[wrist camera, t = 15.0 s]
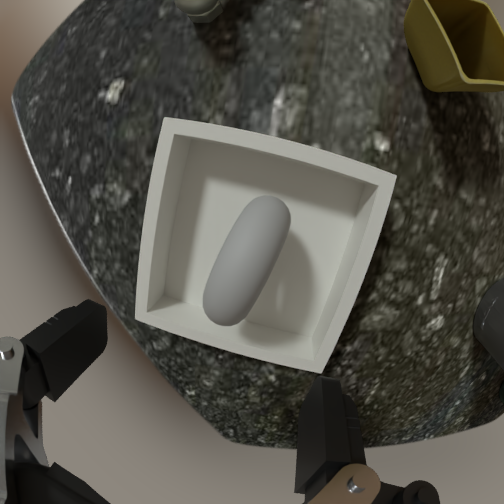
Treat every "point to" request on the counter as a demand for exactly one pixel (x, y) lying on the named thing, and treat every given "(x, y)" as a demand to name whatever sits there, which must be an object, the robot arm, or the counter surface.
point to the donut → (246, 260)
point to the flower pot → (456, 45)
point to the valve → (200, 9)
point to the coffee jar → (502, 393)
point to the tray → (291, 256)
